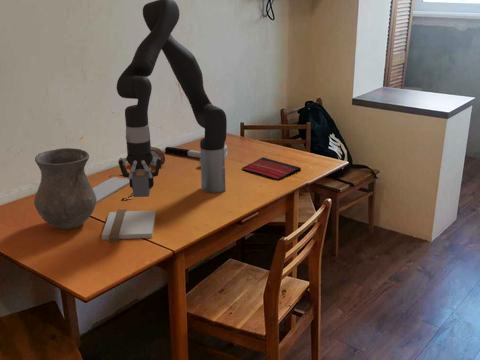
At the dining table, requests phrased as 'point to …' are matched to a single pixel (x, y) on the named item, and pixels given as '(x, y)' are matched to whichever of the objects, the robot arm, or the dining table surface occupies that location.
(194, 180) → the dining table surface
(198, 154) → the claw hammer
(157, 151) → the tin
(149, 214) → the board
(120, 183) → the baseboard molding
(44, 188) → the vase
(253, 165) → the binder
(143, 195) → the block
